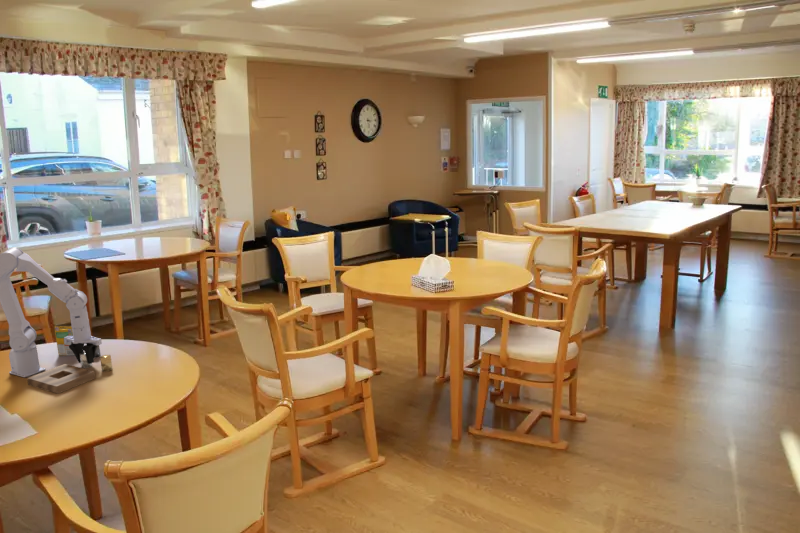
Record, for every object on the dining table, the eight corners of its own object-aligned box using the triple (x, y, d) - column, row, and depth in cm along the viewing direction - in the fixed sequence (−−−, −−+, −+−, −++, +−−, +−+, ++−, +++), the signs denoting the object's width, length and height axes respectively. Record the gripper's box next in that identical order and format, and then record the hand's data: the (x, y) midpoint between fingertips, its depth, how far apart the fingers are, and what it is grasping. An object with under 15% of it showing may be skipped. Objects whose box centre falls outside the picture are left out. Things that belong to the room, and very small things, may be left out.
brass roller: (99, 370, 244) (97, 357, 243) (108, 367, 247) (106, 354, 246) (106, 372, 242) (104, 358, 241) (114, 369, 245) (112, 355, 244)
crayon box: (81, 352, 262) (76, 323, 260) (77, 355, 260) (72, 326, 257) (62, 352, 263) (58, 323, 260) (58, 355, 260) (53, 326, 258)
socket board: (28, 384, 234) (27, 378, 233) (66, 370, 245) (65, 363, 245) (57, 393, 226) (56, 386, 225) (95, 378, 237) (94, 371, 237)
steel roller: (79, 367, 248) (77, 353, 247) (87, 363, 251) (85, 350, 250) (85, 368, 246) (83, 355, 245) (94, 365, 249) (92, 352, 248)
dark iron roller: (88, 357, 258) (86, 344, 257) (96, 354, 261) (94, 341, 260) (94, 358, 256) (92, 345, 255) (102, 355, 259) (100, 342, 258)
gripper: (55, 328, 244) (61, 364, 247) (89, 331, 239) (94, 368, 242) (70, 322, 250) (76, 357, 253) (103, 324, 246) (108, 360, 249)
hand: (86, 362), depth 248 cm, fingers open, 4 cm apart
